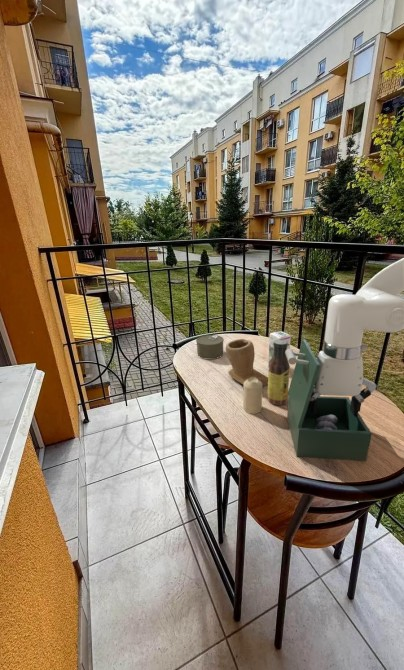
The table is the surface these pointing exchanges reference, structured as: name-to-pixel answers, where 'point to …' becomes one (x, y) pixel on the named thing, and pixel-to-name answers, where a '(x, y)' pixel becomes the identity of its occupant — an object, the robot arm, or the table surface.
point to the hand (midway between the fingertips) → (332, 412)
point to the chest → (331, 432)
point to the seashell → (326, 422)
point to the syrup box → (277, 336)
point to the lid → (302, 380)
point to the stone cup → (243, 361)
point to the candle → (252, 395)
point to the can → (210, 346)
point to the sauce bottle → (278, 374)
